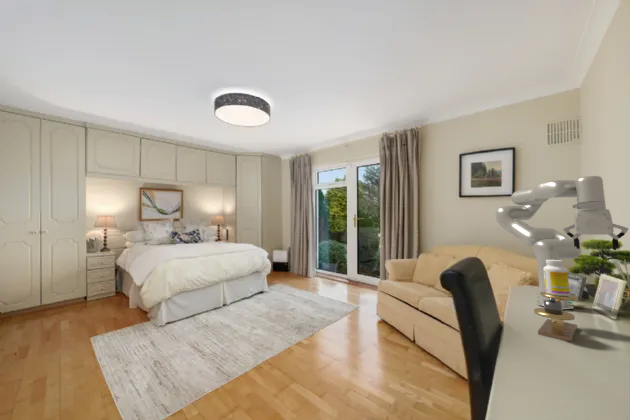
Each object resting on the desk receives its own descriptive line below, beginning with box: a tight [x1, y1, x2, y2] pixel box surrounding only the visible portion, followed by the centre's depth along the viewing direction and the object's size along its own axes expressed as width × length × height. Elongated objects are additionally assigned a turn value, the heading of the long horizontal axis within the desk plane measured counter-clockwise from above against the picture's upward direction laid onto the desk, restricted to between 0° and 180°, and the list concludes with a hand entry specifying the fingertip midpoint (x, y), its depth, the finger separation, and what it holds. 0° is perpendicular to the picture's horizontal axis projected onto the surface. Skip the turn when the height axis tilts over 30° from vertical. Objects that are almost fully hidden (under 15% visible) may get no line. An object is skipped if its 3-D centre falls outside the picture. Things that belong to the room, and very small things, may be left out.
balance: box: [533, 291, 579, 343], centre depth 88 cm, size 23×10×12 cm, turn 129°
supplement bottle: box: [543, 259, 571, 296], centre depth 93 cm, size 7×7×13 cm
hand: (595, 249), depth 98 cm, fingers open, 9 cm apart
